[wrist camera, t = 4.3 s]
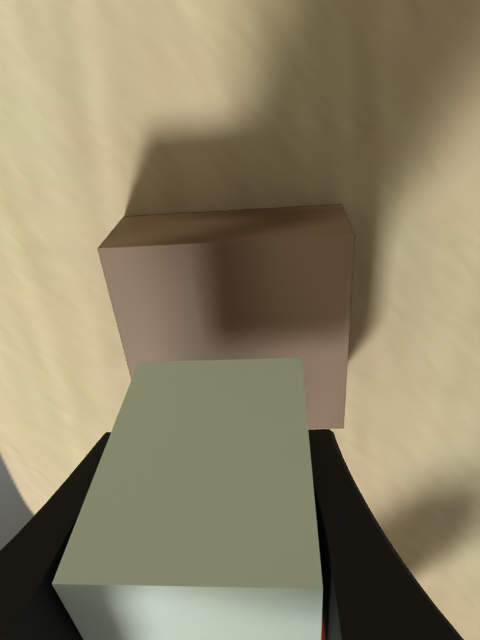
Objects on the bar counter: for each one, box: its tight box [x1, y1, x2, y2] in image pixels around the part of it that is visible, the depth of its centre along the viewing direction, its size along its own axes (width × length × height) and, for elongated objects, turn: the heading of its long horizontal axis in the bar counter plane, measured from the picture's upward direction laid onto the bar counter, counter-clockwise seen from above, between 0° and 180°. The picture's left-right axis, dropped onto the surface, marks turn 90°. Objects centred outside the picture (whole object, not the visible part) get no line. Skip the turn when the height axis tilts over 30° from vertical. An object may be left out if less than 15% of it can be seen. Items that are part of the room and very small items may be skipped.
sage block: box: [52, 358, 323, 640], centre depth 11 cm, size 4×4×6 cm
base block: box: [97, 204, 355, 429], centre depth 17 cm, size 8×8×3 cm
